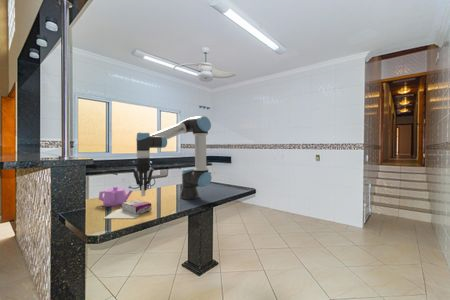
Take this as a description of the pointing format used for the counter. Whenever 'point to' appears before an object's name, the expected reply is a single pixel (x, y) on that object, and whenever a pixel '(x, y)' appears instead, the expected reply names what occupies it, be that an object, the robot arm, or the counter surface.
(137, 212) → the candy bar box
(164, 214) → the counter surface
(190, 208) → the counter surface
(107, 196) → the teakettle
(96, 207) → the counter surface
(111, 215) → the mat
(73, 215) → the counter surface
